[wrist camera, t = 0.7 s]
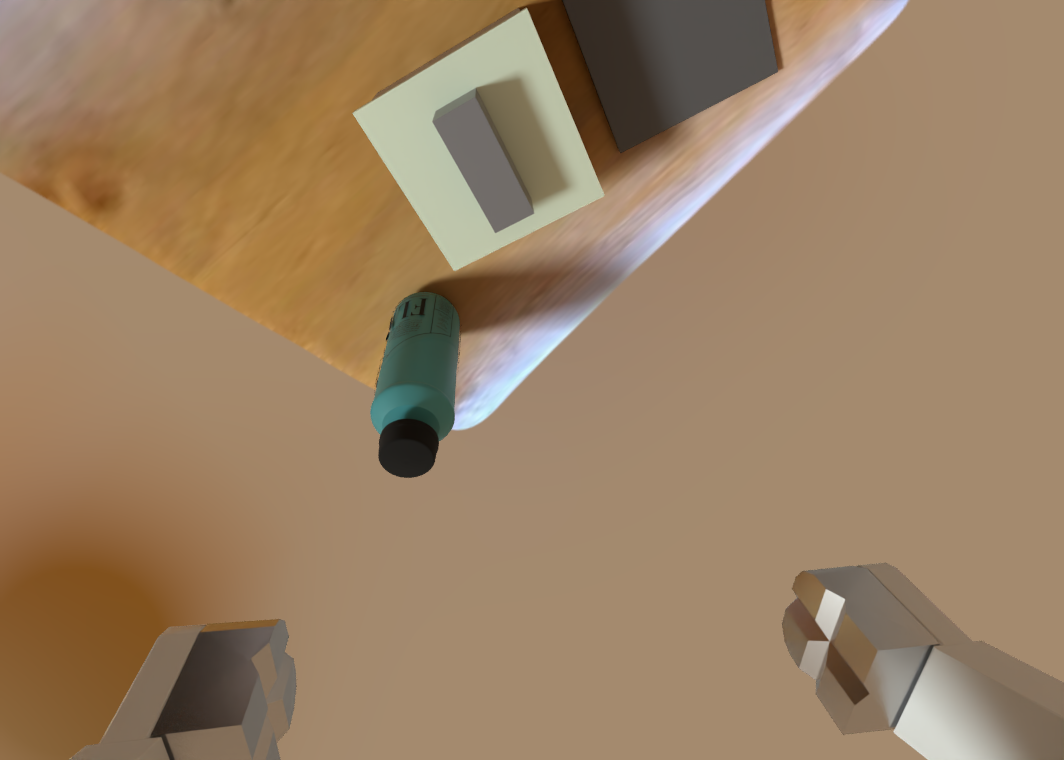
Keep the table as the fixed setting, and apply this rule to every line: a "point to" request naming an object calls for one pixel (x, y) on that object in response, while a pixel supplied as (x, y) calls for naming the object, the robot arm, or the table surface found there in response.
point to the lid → (483, 143)
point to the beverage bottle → (417, 384)
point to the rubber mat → (669, 57)
